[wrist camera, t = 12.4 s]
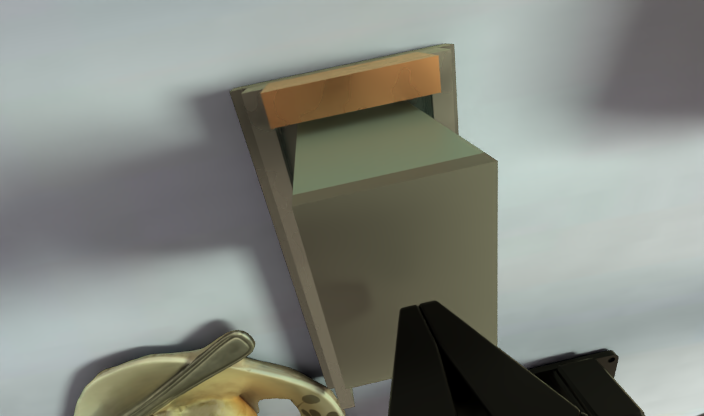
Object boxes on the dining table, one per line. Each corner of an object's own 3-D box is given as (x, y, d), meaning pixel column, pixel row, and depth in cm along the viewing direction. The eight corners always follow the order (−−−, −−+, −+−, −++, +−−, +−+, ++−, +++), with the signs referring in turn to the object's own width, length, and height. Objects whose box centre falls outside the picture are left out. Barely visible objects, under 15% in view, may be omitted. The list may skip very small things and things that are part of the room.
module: (418, 222, 17) (497, 353, 10) (328, 243, 17) (345, 389, 10) (404, 99, 15) (497, 161, 8) (297, 122, 15) (291, 206, 8)
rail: (462, 343, 23) (487, 392, 20) (327, 375, 23) (330, 429, 20) (445, 43, 15) (482, 46, 12) (233, 87, 15) (215, 102, 12)
